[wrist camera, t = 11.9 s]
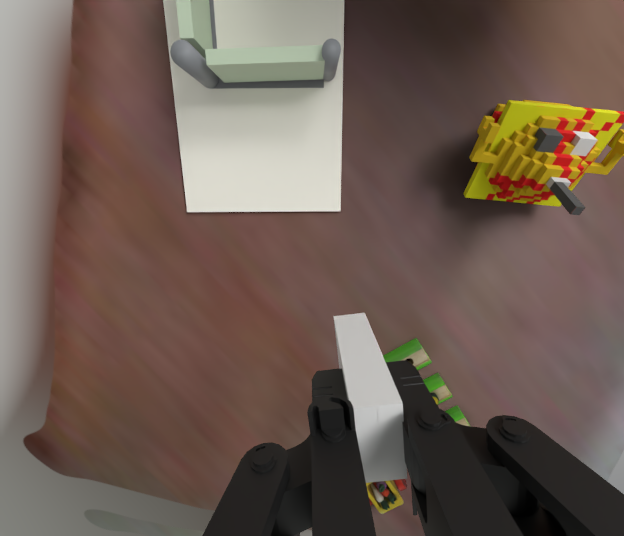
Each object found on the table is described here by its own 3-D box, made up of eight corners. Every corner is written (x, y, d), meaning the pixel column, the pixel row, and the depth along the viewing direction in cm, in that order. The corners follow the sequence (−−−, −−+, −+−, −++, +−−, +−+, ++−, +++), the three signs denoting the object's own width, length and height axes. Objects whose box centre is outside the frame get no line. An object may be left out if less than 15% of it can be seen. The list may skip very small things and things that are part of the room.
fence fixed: (189, -54, 32) (150, -125, 24) (210, -54, 32) (177, -125, 24) (202, 89, 35) (171, 67, 28) (221, 89, 35) (195, 66, 28)
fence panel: (224, 84, 34) (204, 64, 28) (223, 67, 34) (201, 43, 27) (335, 80, 34) (341, 60, 28) (335, 63, 34) (341, 38, 27)
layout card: (160, -36, 32) (158, -39, 32) (344, -38, 32) (345, -40, 32) (188, 211, 39) (186, 212, 39) (340, 210, 39) (340, 211, 39)
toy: (602, 90, 34) (722, 164, 23) (545, 175, 41) (618, 261, 30) (472, 76, 33) (534, 145, 23) (437, 164, 40) (473, 248, 30)
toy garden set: (486, 450, 50) (503, 477, 45) (376, 502, 53) (381, 532, 48) (415, 335, 44) (426, 353, 40) (296, 400, 47) (294, 423, 43)
